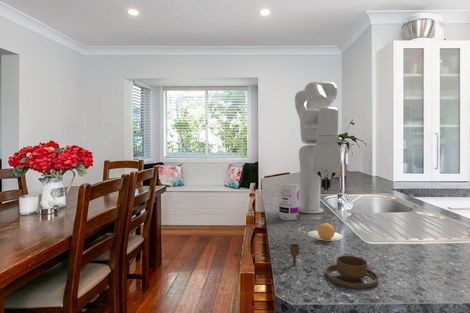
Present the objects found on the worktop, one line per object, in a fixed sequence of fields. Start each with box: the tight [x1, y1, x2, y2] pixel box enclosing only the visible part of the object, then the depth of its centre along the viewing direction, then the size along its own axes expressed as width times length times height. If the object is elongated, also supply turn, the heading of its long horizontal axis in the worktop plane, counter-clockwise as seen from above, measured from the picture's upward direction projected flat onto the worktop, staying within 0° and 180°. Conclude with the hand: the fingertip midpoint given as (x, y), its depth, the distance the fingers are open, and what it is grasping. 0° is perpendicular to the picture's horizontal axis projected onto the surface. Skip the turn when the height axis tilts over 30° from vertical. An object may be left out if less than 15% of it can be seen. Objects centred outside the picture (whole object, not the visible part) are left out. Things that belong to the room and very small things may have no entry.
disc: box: [307, 230, 344, 242], centre depth 112 cm, size 12×12×1 cm
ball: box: [317, 222, 335, 241], centre depth 108 cm, size 6×6×6 cm
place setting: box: [289, 243, 379, 289], centre depth 80 cm, size 18×20×6 cm
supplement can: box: [278, 182, 300, 222], centre depth 137 cm, size 8×8×15 cm
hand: (325, 189), depth 120 cm, fingers closed
